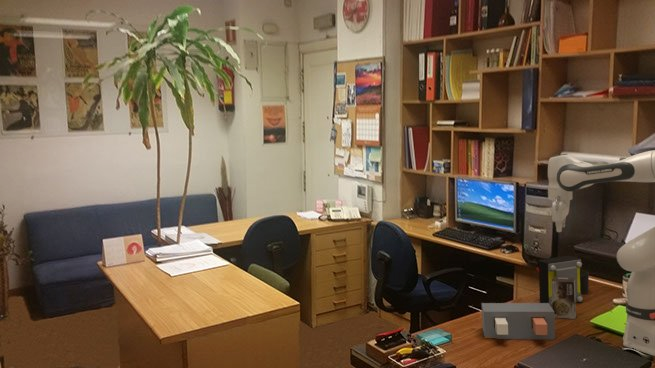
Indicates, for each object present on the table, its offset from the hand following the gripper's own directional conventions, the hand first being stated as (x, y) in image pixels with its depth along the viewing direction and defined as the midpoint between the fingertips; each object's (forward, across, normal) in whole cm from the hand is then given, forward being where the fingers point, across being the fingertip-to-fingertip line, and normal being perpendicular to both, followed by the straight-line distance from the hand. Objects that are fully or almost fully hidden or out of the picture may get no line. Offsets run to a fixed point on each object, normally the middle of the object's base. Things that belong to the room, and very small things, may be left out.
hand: (560, 229), depth 217 cm
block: (+40, -14, +15) cm, 45 cm away
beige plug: (+36, -22, +19) cm, 46 cm away
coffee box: (+40, +14, +1) cm, 43 cm away
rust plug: (+36, -17, +6) cm, 40 cm away
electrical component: (+40, +32, +5) cm, 52 cm away
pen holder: (+40, +50, -1) cm, 65 cm away
